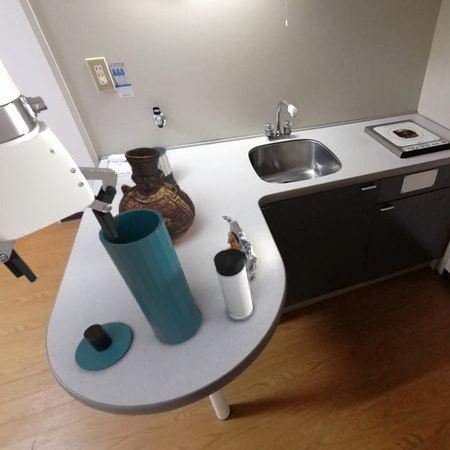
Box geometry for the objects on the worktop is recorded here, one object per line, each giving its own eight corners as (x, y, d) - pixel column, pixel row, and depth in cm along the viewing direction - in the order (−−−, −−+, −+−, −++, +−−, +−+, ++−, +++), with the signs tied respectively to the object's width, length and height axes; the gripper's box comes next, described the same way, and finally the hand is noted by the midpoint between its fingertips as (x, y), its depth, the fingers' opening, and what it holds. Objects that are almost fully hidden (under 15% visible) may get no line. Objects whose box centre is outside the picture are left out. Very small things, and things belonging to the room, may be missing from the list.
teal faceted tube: (172, 353, 69) (117, 255, 48) (147, 327, 74) (88, 228, 53) (209, 321, 75) (174, 223, 54) (184, 299, 80) (143, 201, 60)
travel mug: (229, 325, 74) (213, 270, 61) (227, 303, 79) (212, 247, 66) (254, 319, 75) (244, 264, 62) (251, 298, 80) (241, 242, 67)
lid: (91, 383, 64) (75, 368, 60) (69, 350, 69) (53, 334, 65) (142, 343, 71) (131, 327, 66) (118, 316, 76) (106, 300, 72)
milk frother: (164, 178, 126) (153, 144, 117) (194, 186, 121) (185, 152, 112) (137, 196, 117) (122, 161, 107) (169, 206, 111) (156, 170, 102)
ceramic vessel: (125, 261, 91) (76, 172, 71) (140, 223, 104) (102, 140, 84) (198, 253, 93) (170, 165, 73) (203, 217, 106) (180, 135, 87)
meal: (224, 251, 93) (216, 218, 85) (237, 246, 95) (230, 213, 87) (246, 283, 84) (240, 249, 75) (260, 276, 86) (255, 242, 77)
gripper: (67, 92, 35) (124, 210, 46) (-160, 145, 25) (-18, 280, 36) (97, 106, 32) (151, 230, 43) (-155, 174, 21) (1, 314, 32)
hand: (73, 253), depth 39 cm, fingers open, 9 cm apart
